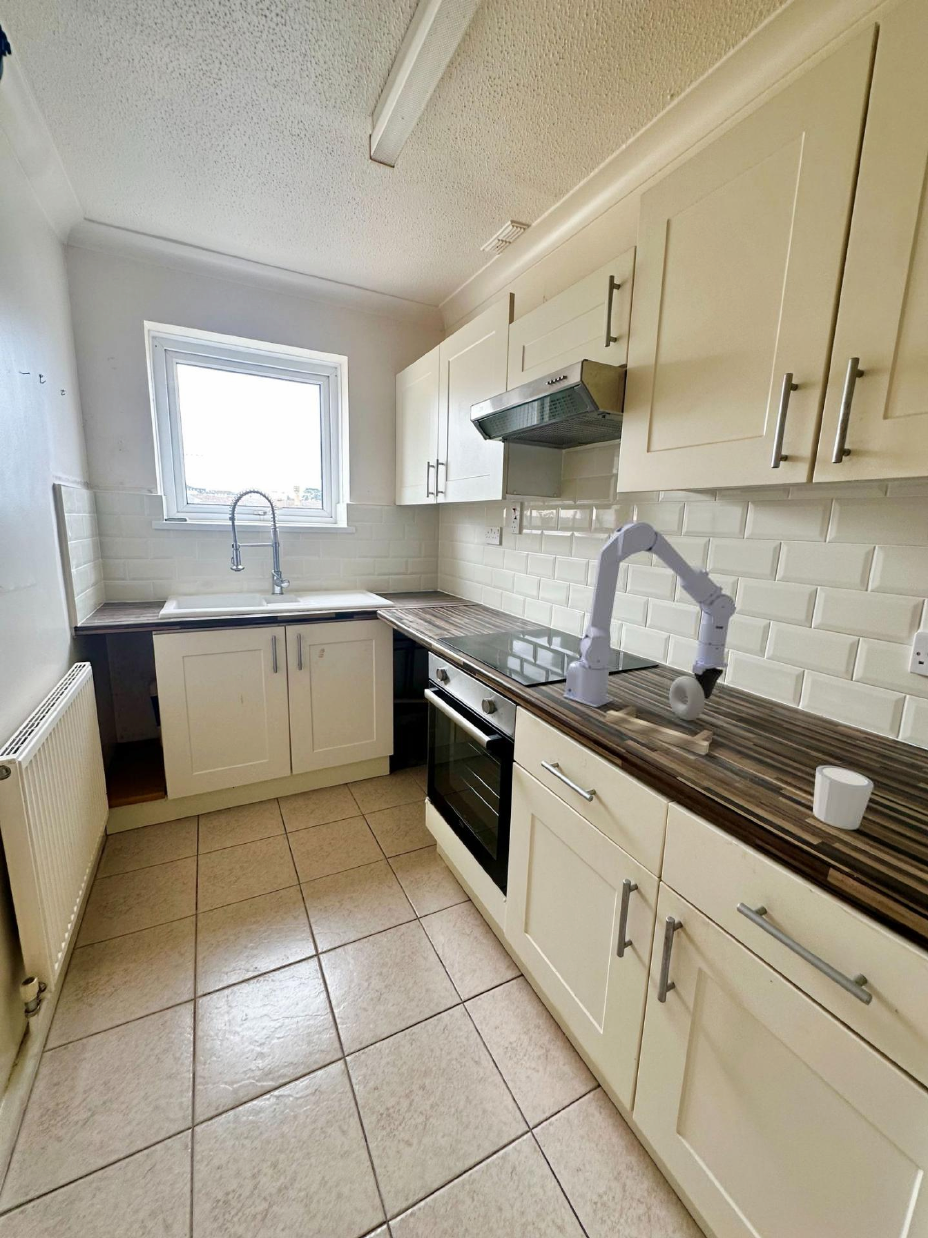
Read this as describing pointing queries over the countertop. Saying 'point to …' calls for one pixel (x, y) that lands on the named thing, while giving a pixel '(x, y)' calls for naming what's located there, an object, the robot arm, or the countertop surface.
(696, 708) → the white rubber ring
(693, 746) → the drawer pull handle
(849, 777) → the white cylinder
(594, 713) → the countertop surface
